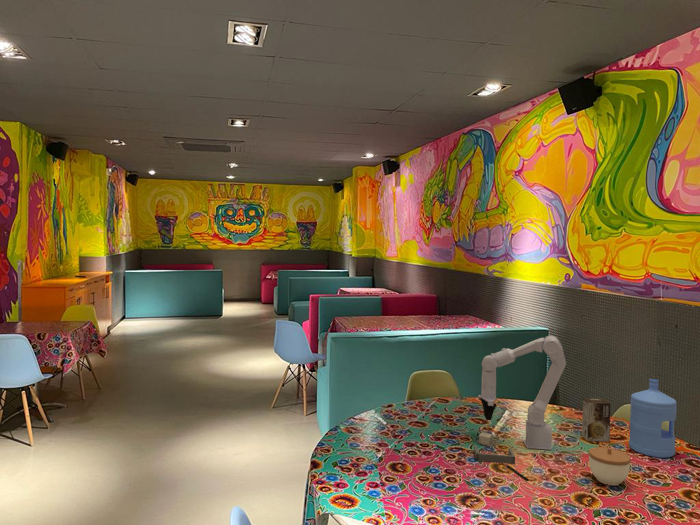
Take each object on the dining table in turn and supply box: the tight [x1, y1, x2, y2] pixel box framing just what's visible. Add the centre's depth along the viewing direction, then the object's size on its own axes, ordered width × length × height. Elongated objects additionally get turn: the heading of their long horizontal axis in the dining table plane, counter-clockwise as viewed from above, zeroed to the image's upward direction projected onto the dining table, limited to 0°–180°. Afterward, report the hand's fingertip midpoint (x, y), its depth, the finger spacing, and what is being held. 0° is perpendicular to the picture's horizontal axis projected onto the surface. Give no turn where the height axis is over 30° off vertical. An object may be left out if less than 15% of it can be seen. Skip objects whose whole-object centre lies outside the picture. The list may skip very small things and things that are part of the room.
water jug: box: [628, 378, 678, 459], centre depth 199 cm, size 16×16×28 cm
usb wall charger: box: [478, 432, 500, 447], centre depth 202 cm, size 4×7×4 cm, turn 51°
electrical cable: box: [505, 464, 529, 482], centre depth 176 cm, size 12×1×1 cm, turn 17°
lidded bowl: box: [588, 446, 632, 486], centre depth 172 cm, size 13×13×11 cm
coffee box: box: [581, 397, 611, 443], centre depth 211 cm, size 9×6×16 cm
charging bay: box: [473, 444, 516, 465], centre depth 189 cm, size 14×9×2 cm, turn 82°
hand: (487, 418), depth 208 cm, fingers open, 3 cm apart
